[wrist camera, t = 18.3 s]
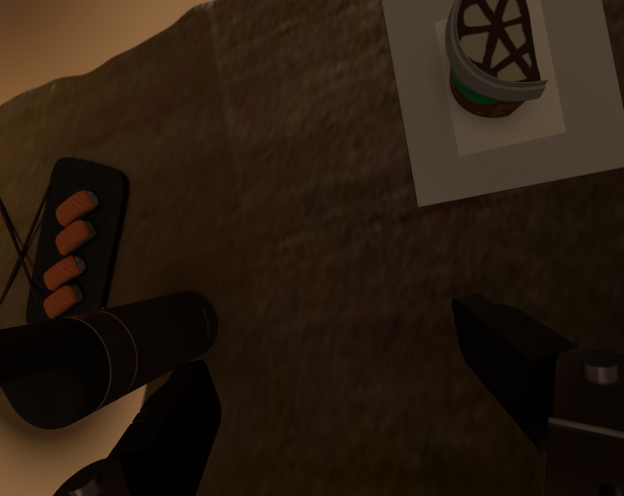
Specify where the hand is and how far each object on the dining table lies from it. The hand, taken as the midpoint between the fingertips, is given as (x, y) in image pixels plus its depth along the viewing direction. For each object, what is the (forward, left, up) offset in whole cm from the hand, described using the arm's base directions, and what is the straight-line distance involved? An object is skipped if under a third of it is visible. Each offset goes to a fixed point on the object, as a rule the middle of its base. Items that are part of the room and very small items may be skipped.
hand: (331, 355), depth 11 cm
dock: (+14, +19, -30) cm, 39 cm away
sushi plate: (-54, +13, -31) cm, 64 cm away
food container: (+12, +19, -29) cm, 37 cm away
